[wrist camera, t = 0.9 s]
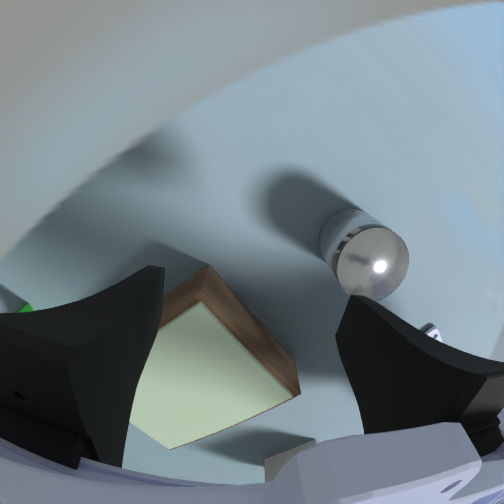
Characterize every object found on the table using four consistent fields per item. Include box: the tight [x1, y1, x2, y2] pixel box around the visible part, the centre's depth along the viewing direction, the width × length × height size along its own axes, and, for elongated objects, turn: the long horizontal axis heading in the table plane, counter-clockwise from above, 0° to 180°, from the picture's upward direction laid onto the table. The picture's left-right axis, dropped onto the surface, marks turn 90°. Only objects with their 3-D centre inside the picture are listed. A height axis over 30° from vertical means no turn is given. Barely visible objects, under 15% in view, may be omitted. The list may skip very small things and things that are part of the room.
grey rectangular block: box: [264, 439, 320, 482], centre depth 26 cm, size 4×7×10 cm, turn 124°
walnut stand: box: [129, 265, 301, 450], centre depth 23 cm, size 11×14×4 cm
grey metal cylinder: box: [319, 209, 409, 301], centre depth 19 cm, size 4×4×5 cm
